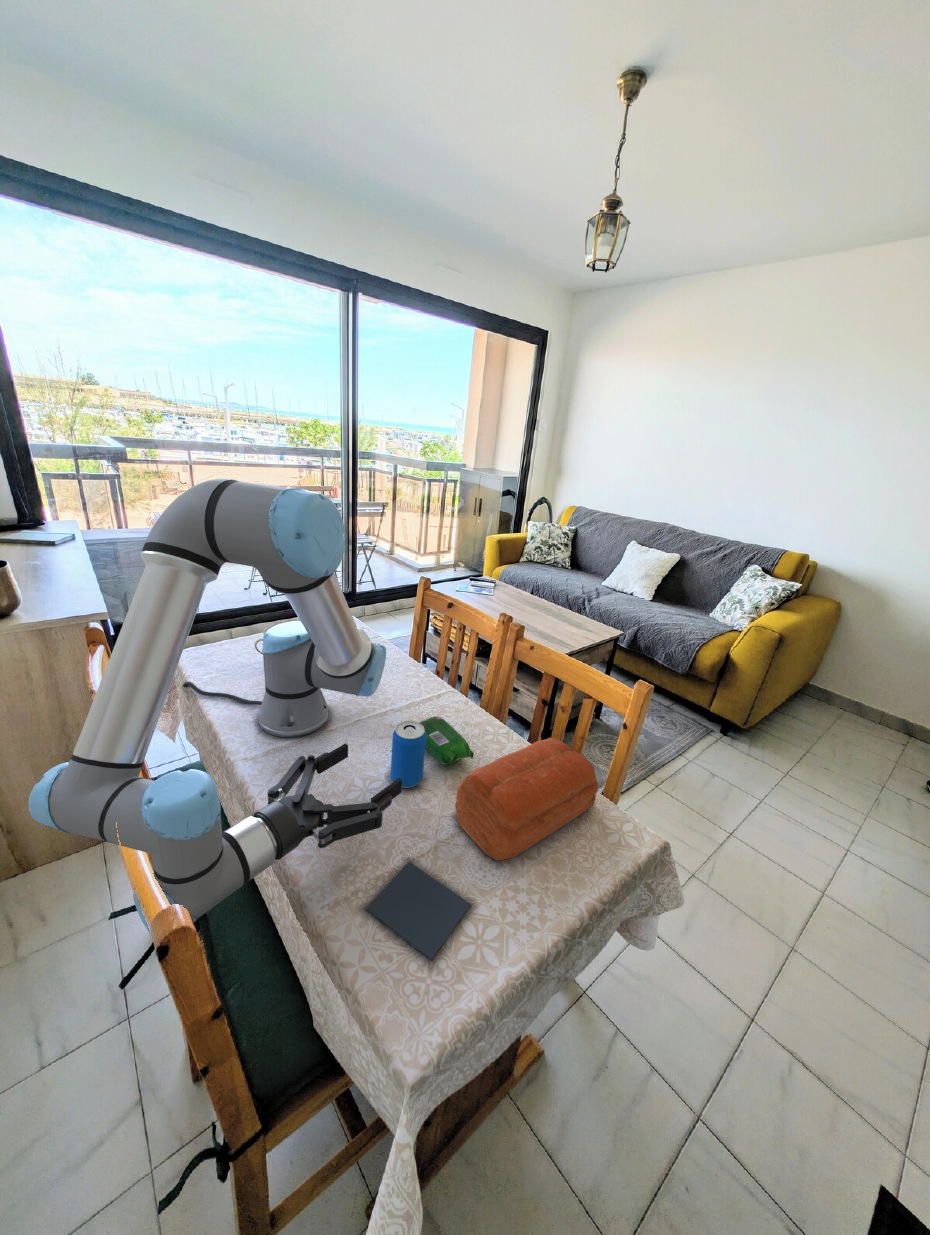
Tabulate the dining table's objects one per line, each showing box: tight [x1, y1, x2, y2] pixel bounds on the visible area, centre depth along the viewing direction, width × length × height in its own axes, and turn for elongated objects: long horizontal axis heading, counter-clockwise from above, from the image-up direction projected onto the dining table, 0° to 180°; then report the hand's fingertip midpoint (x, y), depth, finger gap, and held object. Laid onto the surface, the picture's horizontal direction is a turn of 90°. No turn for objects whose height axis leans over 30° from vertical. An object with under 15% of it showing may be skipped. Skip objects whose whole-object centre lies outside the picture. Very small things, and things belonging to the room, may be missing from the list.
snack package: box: [418, 716, 475, 766], centre depth 103 cm, size 7×16×5 cm, turn 35°
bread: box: [454, 737, 599, 862], centre depth 88 cm, size 16×27×11 cm, turn 128°
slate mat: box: [365, 861, 472, 962], centre depth 70 cm, size 12×10×1 cm
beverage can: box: [389, 720, 426, 789], centre depth 93 cm, size 6×6×12 cm
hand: (372, 766), depth 84 cm, fingers open, 13 cm apart
